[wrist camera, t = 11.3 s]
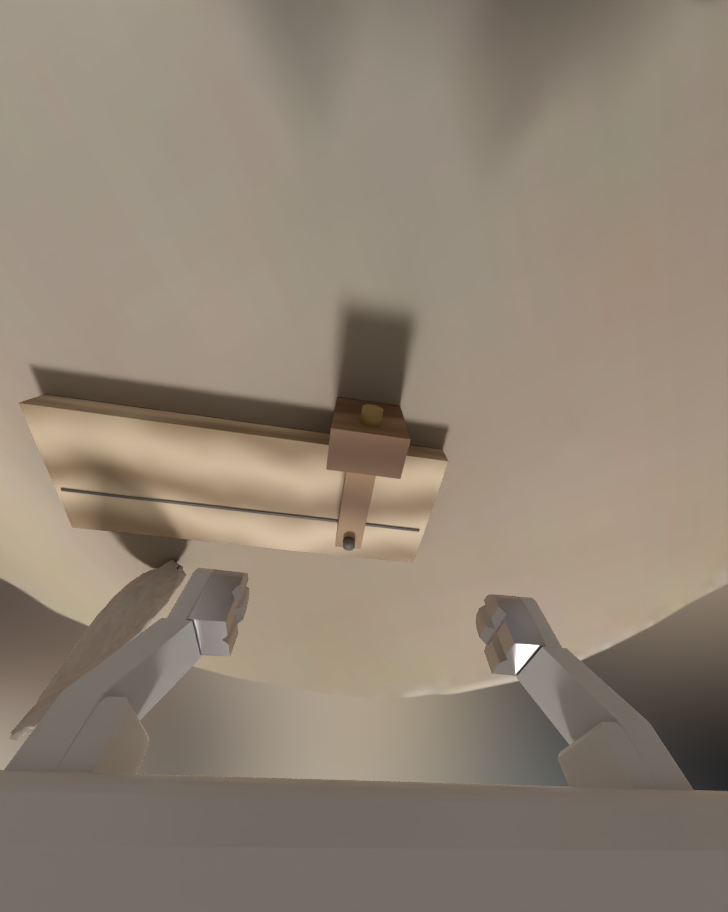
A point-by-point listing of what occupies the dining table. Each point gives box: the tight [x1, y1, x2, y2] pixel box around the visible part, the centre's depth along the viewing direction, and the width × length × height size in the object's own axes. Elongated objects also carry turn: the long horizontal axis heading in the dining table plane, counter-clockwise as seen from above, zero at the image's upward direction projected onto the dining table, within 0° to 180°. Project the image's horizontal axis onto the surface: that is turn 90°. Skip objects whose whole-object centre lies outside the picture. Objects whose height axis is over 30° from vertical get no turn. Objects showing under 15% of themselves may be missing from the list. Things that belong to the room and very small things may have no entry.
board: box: [19, 394, 448, 563], centre depth 26 cm, size 12×32×2 cm, turn 81°
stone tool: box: [9, 560, 186, 740], centre depth 26 cm, size 9×3×15 cm, turn 123°
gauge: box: [326, 397, 411, 551], centre depth 23 cm, size 13×5×6 cm, turn 171°
